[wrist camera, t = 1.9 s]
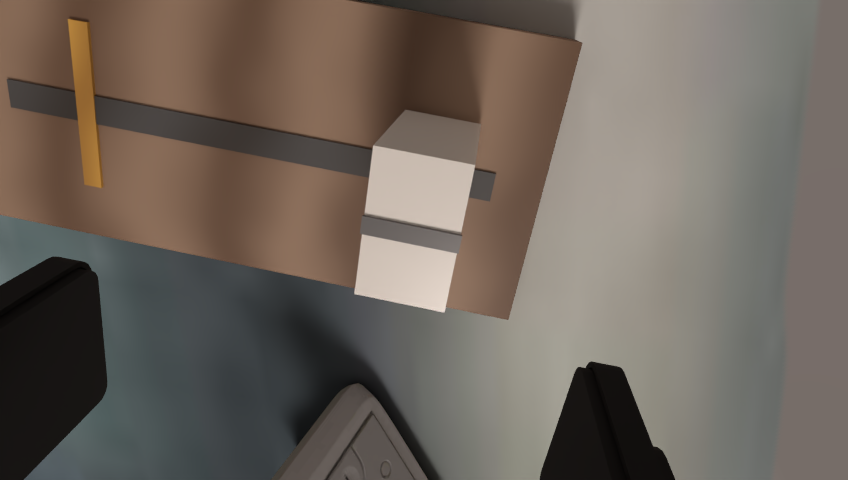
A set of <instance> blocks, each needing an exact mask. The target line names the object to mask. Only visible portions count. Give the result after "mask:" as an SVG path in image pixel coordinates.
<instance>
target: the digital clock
mask: <svg viewBox="0 0 848 480" xmlns="http://www.w3.org/2000/svg"><path fill="white" fill-rule="evenodd" d="M271 480H428V479H427V477H426V475H425V474H424V472H423V471H422V469H421V467H420V466H419V464H418V463H417V461H416V459H415V458H414V456H413V454H412V453H411V451H410V450H409V448H408V446H407V445H406V443H405V442H404V440H403V438H402V437H401V435H400V433H399V432H398V430H397V429H396V427H395V426H394V424H393V422H392V421H391V419H390V418H389V416H388V415H387V413H386V412H385V410H384V409H383V407H382V406H381V404H380V403H379V401H378V400H377V399H376V398H375V397H374V396H373V395H372V394H371V393H370V392H369V391H368V390H367V389H366V388H365V387H364V386H363V385H361V384H359V383H357V384H352V385H348V386H347V387H345V388H344V389H342V390H341V391H340V392H339V393H338V394H337V395H336V396H335V397H334V398H333V400H332V401H331V402H330V404H329V405H328V406H327V407H326V409H325V410H324V411H323V413H322V414H321V415H320V417H319V418H318V419H317V420H316V422H315V423H314V424H313V426H312V427H311V428H310V430H309V431H308V432H307V434H306V435H305V436H304V437H303V439H302V440H301V441H300V443H299V444H298V445H297V447H296V448H295V449H294V450H293V452H292V453H291V454H290V456H289V457H288V458H287V460H286V461H285V462H284V463H283V465H282V466H281V467H280V469H279V470H278V471H277V473H276V474H275V475H274V477H273V478H272V479H271Z"/></svg>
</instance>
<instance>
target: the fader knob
mask: <svg viewBox="0 0 848 480" xmlns="http://www.w3.org/2000/svg"><path fill="white" fill-rule="evenodd" d="M480 129H481V124H478V123H473V122H468V121H463V120H457V119H452V118H447V117H442V116H436V115H431V114H426V113H420V112H415V111H410V110H405V111H404V112H403V113H402V114H401V115H400V116H399V117H398V118H397V120H396V121H395V122H394V123H393V124H392V125H391V126H390V127H389V128H388V130H387V131H386V132H385V133H384V134H383V135H382V136H381V137H380V138H379V139H378V141H377V142H376V143H375V144H374V145H373V151H372V159H371V167H370V175H369V182H368V190H367V198H366V206H365V214H364V215H362V220H361V228H360V234H362V238H361V246H360V254H359V262H358V269H357V277H356V285H355V293H354V294H358V295H362V296H367V297H372V298H377V299H382V300H386V301H391V302H396V303H401V304H406V305H410V306H415V307H420V308H425V309H430V310H435V311H439V312H444V313H445V308H446V303H447V298H448V294H449V289H450V284H451V279H452V274H453V270H454V265H455V260H456V255H457V254H459V249H460V244H461V240H462V235H461V231H462V226H463V222H464V217H465V212H466V207H467V203H468V198H469V193H470V188H471V183H472V179H473V174H474V169H475V164H476V157H477V150H478V143H479V136H480Z"/></svg>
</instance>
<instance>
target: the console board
mask: <svg viewBox="0 0 848 480" xmlns="http://www.w3.org/2000/svg"><path fill="white" fill-rule="evenodd" d="M581 46H582V42H579V41H577V40H573V39H568V38H562V37H557V36H551V35H546V34H540V33H535V32H529V31H523V30H518V29H512V28H507V27H501V26H496V25H490V24H485V23H479V22H474V21H468V20H463V19H457V18H452V17H446V16H440V15H435V14H429V13H424V12H418V11H413V10H407V9H402V8H396V7H391V6H385V5H380V4H374V3H368V2H363V1H357V0H0V215H4V216H9V217H14V218H19V219H24V220H29V221H33V222H38V223H43V224H48V225H53V226H57V227H62V228H67V229H72V230H77V231H82V232H86V233H91V234H96V235H101V236H106V237H111V238H115V239H120V240H125V241H130V242H135V243H140V244H144V245H149V246H154V247H159V248H164V249H168V250H173V251H178V252H183V253H188V254H193V255H197V256H202V257H207V258H212V259H217V260H222V261H226V262H231V263H236V264H241V265H246V266H251V267H255V268H260V269H265V270H270V271H275V272H280V273H284V274H289V275H294V276H299V277H304V278H308V279H313V280H318V281H323V282H328V283H333V284H337V285H342V286H347V287H352V288H355V285H356V277H357V269H358V262H359V254H360V246H361V238H362V234H360V228H361V220H362V215H364V214H365V206H366V198H367V190H368V182H369V175H370V167H371V159H372V151H373V145H374V144H375V143H376V142H377V141H378V139H379V138H380V137H381V136H382V135H383V134H384V133H385V132H386V131H387V130H388V128H389V127H390V126H391V125H392V124H393V123H394V122H395V121H396V120H397V118H398V117H399V116H400V115H401V114H402V113H403V112H404V111H405V110H410V111H415V112H420V113H426V114H431V115H436V116H442V117H447V118H452V119H457V120H463V121H468V122H473V123H478V124H481V129H480V136H479V143H478V150H477V157H476V164H475V169H474V174H473V179H472V183H471V188H470V193H469V198H468V203H467V207H466V212H465V217H464V222H463V226H462V231H461V235H462V240H461V244H460V249H459V254H457V255H456V260H455V265H454V270H453V274H452V279H451V284H450V289H449V294H448V298H447V303H446V307H448V308H453V309H458V310H463V311H468V312H473V313H477V314H482V315H487V316H492V317H497V318H502V319H506V320H508V319H509V315H510V311H511V308H512V304H513V300H514V296H515V293H516V289H517V285H518V281H519V278H520V274H521V270H522V267H523V263H524V259H525V255H526V252H527V248H528V244H529V240H530V237H531V233H532V229H533V225H534V222H535V218H536V214H537V210H538V207H539V203H540V199H541V195H542V192H543V188H544V184H545V180H546V177H547V173H548V169H549V166H550V162H551V158H552V154H553V151H554V147H555V143H556V139H557V136H558V132H559V128H560V124H561V121H562V117H563V113H564V109H565V106H566V102H567V98H568V94H569V91H570V87H571V83H572V80H573V76H574V72H575V68H576V65H577V61H578V57H579V53H580V50H581Z"/></svg>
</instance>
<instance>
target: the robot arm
mask: <svg viewBox="0 0 848 480" xmlns="http://www.w3.org/2000/svg"><path fill="white" fill-rule="evenodd" d="M106 388H107V373H106V361H105V350H104V339H103V328H102V317H101V305H100V294H99V283H98V277H97V275H96V273H95V272H93V271H91V268H90V266H89V265H88V264H87V263H85V262H82V261H77V260H72V259H67V258H62V257H51V258H48V259H46V260H45V261H43V262H41V263H39V264H38V265H36V266H34V267H32V268H31V269H29V270H27V271H25V272H24V273H22V274H20V275H18V276H16V277H15V278H13V279H11V280H9V281H8V282H6V283H4V284H2V285H1V286H0V480H24V479H25V478H26V477H27V476H28V475H29V474H30V473H31V471H32V470H33V469H34V468H35V467H36V466H37V465H38V464H39V463H40V462H41V461H42V460H43V459H44V458H45V457H46V456H47V455H48V454H49V453H50V452H51V451H52V450H53V449H54V448H55V447H56V446H57V445H58V444H59V443H60V442H61V441H62V440H63V439H64V438H65V437H66V436H67V435H68V434H69V433H70V432H71V431H72V430H73V429H74V428H75V427H76V426H77V425H78V424H79V423H80V422H81V421H82V419H83V418H84V417H85V416H86V415H87V414H88V413H89V412H90V411H91V410H92V409H93V408H94V407H95V406H96V405H97V404H98V403H99V402H100V401H101V400H102V398H103V396H104V394H105V392H106ZM540 480H675V478H674V475H673V473H672V470H671V468H670V466H669V463H668V461H667V458H666V457H665V455H664V453H663V451H662V450H660V449H659V448H658V447H653V445H652V443H651V440H650V437H649V435H648V432H647V430H646V427H645V425H644V422H643V419H642V417H641V414H640V412H639V409H638V407H637V404H636V402H635V399H634V396H633V394H632V391H631V389H630V386H629V384H628V381H627V378H626V376H625V373H624V371H623V369H622V368H620V367H617V366H612V365H606V364H601V363H596V362H589V363H588V365H587V366H586V368H582V367H578V368H577V369H576V371H575V374H574V376H573V379H572V382H571V385H570V388H569V391H568V394H567V397H566V400H565V403H564V406H563V409H562V412H561V415H560V418H559V421H558V424H557V427H556V429H555V432H554V435H553V438H552V441H551V444H550V447H549V450H548V453H547V456H546V459H545V462H544V465H543V468H542V471H541V476H540Z"/></svg>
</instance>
